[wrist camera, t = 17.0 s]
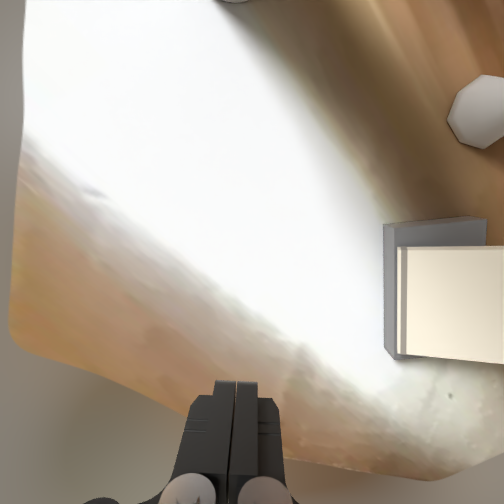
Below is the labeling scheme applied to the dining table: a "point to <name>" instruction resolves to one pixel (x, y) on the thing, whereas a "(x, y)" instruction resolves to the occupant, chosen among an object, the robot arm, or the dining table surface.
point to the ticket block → (420, 235)
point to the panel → (451, 302)
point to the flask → (479, 112)
